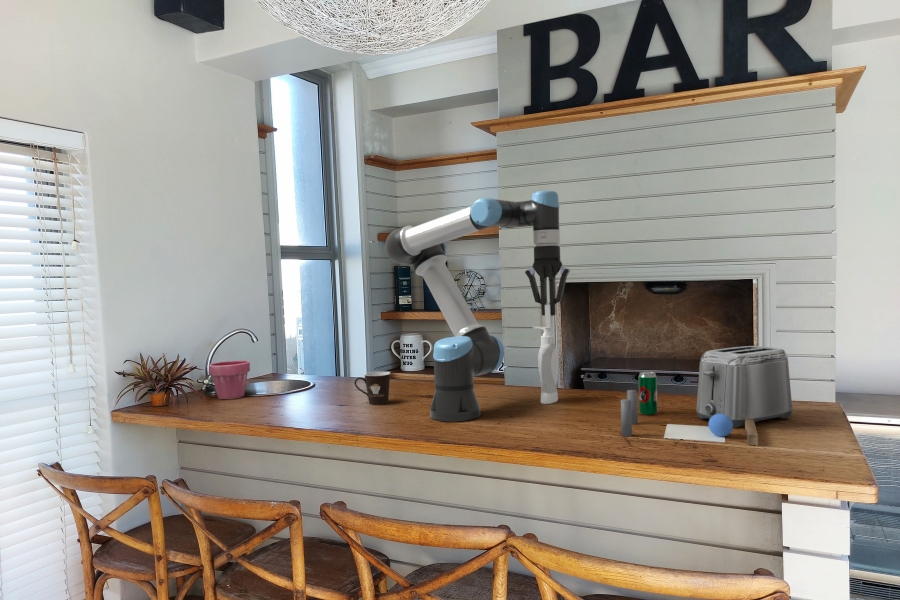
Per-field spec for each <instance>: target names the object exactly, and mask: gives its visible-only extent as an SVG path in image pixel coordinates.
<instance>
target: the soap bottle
mask: <svg viewBox="0 0 900 600" xmlns="http://www.w3.org/2000/svg"><path fill="white" fill-rule="evenodd" d="M531 328H532V329H534V330H535V329H537V330H538V329H539V330H542V331H543V332H544V333H542V335H541V336H540V347H539V349H538V350H539V351H538V354H537V366H538V375H539V377H538V378H539V381H540V389H541V391H540V403H541V404H542V405H551V404H554V403H557V402H558V401H559V395H558V394H559V393H558V389H557V387H558V386H557V385H558V379H559V353H558V349H557V346H556V344H555V343H556V342H555V335H553V332H552V331H551V328H552V327H545V326H532V327H531Z"/></svg>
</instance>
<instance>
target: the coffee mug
mask: <svg viewBox="0 0 900 600" xmlns="http://www.w3.org/2000/svg"><path fill="white" fill-rule="evenodd" d="M358 380H361V381H363V382H364V384H365V386H366V391H367V392H366V391H364V390H363V389H361V388H360V387H359V386H358V384H357V381H358ZM390 381H391V372H390V371H371V372H366V373H364V377H357V378H356V379H355V380H354V387H355V388H356V389H357V390H358V391H359V392H361V393H363V394H364V395H366V396H367V398H368V403H369V404H368V405H371V406H382V405H386V404H389V398H390V397H389V394H390V383H391V382H390Z"/></svg>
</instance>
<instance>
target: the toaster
mask: <svg viewBox="0 0 900 600" xmlns="http://www.w3.org/2000/svg"><path fill="white" fill-rule="evenodd" d="M790 377H791V376H790V369H789V358H788V354H787V353H786V350H784V349H783V348H781V347H780V348H778V347H770V346H769V347H768V346H758V345H748V346H747V345H745V346H736V347H727V348H718V349H711V350H707V351H705V352H704V353H703V354H702V355H701V357H700V361H699V370H698V383H697V384H698V385H697V397H696V413H697V417H698V418H699V419H700V420H702V421H703V420H708V419H709V420H710V418H711V417H712V416H714V415H716V414H724V415H726V416H728V417H729V418H730V419H731V421H732V423H733V428H739V427H745V419H754V423H756V422H759V421H764V420H770V419H775V418H779V419H780V420H784V419H789V418H790V417H791V416H792V413H793V401H792V391H791V390H792V389H791V380H790V379H791V378H790Z"/></svg>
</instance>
